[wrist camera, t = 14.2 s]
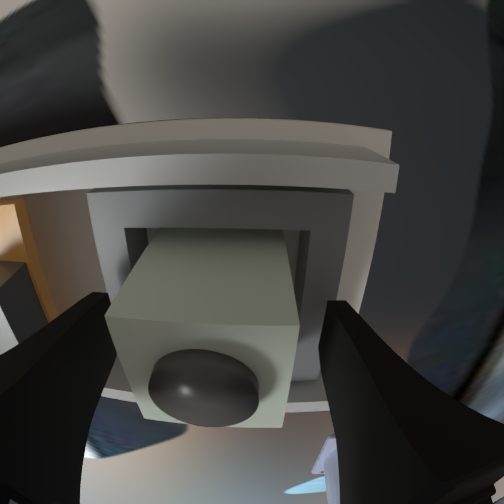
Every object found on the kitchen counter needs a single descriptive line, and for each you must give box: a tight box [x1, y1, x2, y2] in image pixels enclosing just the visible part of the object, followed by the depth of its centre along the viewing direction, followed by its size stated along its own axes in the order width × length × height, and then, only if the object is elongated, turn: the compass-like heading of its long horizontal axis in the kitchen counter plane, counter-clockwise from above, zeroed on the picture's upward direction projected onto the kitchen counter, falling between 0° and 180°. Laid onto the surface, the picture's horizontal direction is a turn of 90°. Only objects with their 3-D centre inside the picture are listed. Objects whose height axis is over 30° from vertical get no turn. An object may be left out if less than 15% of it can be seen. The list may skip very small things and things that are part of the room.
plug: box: [105, 228, 300, 428], centre depth 10 cm, size 4×4×6 cm
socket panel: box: [0, 118, 399, 412], centre depth 11 cm, size 22×12×4 cm, turn 89°
